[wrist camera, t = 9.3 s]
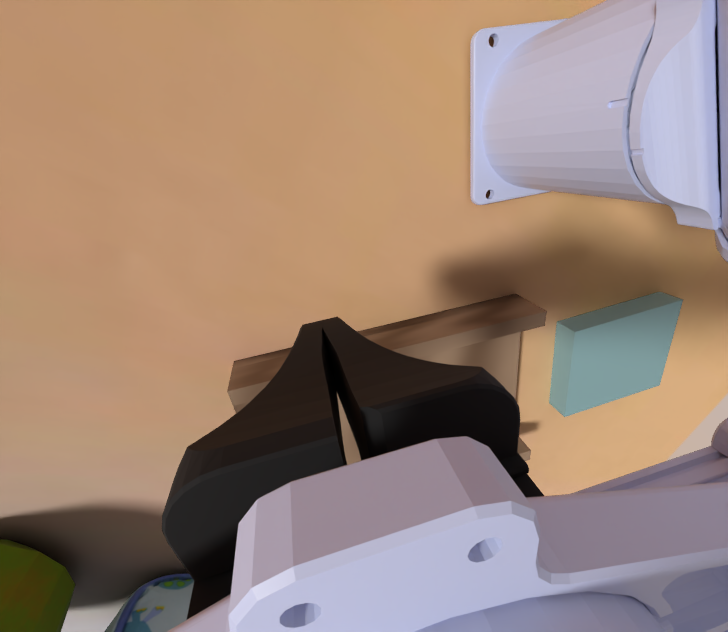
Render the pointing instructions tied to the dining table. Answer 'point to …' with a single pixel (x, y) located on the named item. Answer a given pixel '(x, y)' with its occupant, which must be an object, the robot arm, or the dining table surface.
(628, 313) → the teal square tile
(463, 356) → the box
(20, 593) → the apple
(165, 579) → the lunch box
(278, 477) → the robot arm
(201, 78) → the dining table surface
